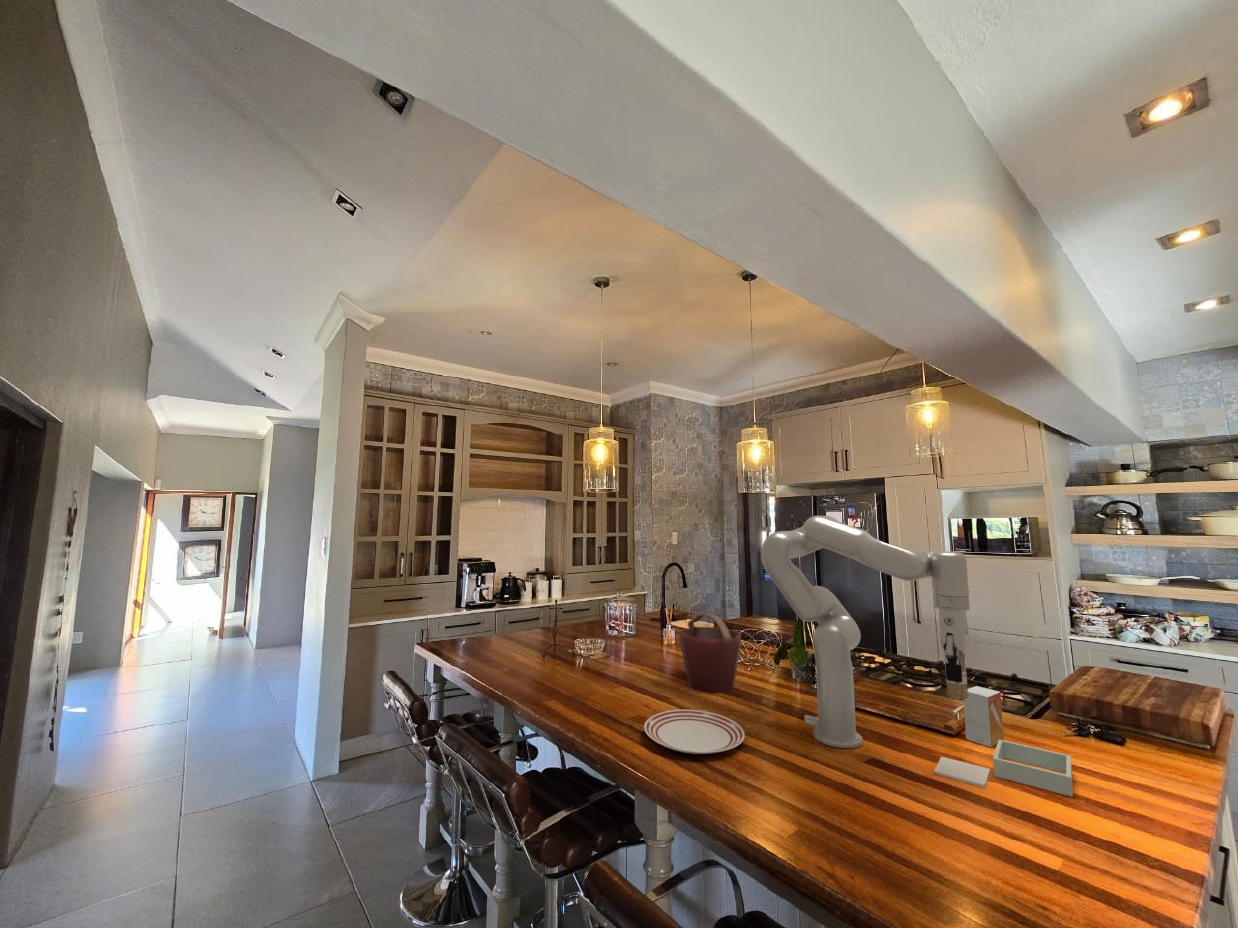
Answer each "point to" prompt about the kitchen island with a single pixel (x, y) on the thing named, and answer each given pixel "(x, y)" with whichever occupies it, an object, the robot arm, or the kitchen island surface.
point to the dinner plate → (694, 731)
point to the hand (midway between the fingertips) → (956, 677)
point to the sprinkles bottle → (958, 688)
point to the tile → (962, 771)
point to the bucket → (710, 655)
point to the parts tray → (1033, 774)
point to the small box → (983, 716)
